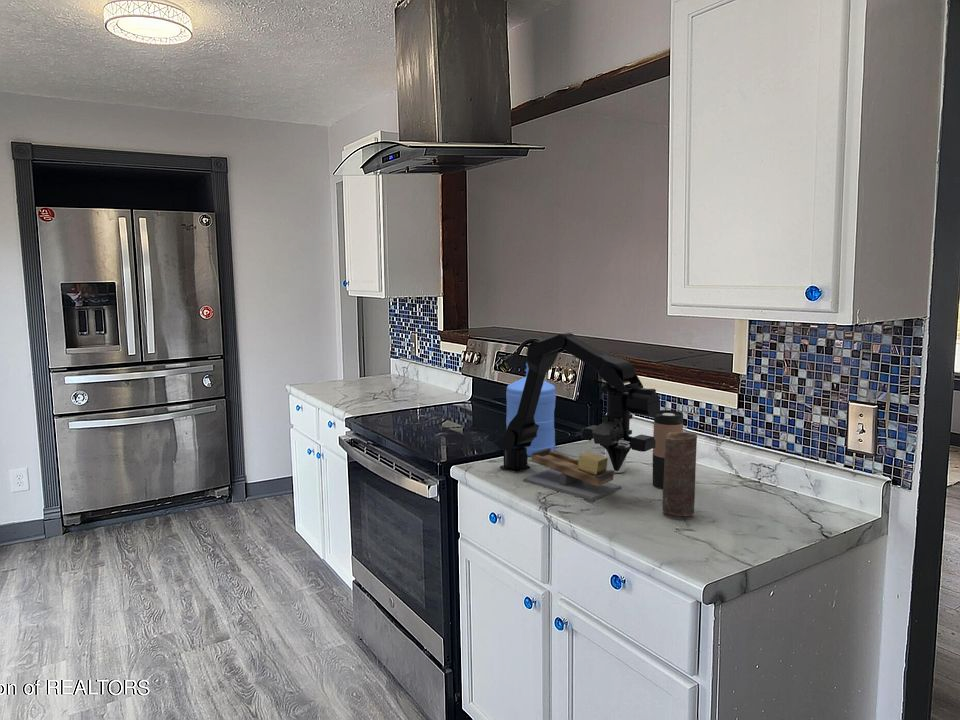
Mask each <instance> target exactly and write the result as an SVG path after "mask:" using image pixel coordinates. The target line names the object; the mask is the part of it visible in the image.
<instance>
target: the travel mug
mask: <svg viewBox="0 0 960 720" xmlns="http://www.w3.org/2000/svg"><path fill="white" fill-rule="evenodd" d="M683 431H684V412H681V411H679V410H671V409H659V412H658V414H657V415H656V416H655V417H653V435H652V437H654V439H655V441H656V445H655V448H653V449H652V485H653V487H654V488H657V489H661V490H663V482H664V461H665V437H666V435H667V434H668V433H670V432H679V433H681V432H683Z"/></svg>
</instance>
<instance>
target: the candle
mask: <svg viewBox="0 0 960 720" xmlns="http://www.w3.org/2000/svg"><path fill="white" fill-rule="evenodd" d="M697 441H698V436H697V434H696V433H695V432H688V431H687V432H685V431H684V432H681V433H679V432H670V433H668V434H667V435H666V437H665V461H664V482H663V489H662V503H661V504H662V505H661V507H662V512H663V513H664V514H666V515H670V516H675V517H693V516H694V514H695V501H696V500H695V499H696V498H695V497H696V472H697V471H696V468H697Z"/></svg>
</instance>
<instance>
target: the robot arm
mask: <svg viewBox="0 0 960 720" xmlns="http://www.w3.org/2000/svg"><path fill="white" fill-rule="evenodd" d="M563 352H567V353H568V354H570V355H572V356H573V357H574V358H577V360H579V361H581V362H583V363H585V364H587V365H588V366H589V367H591V368H592V369H594V371H596V372H597V374H598V377H599V378H600V379H602V380H603V381H604V382H605V384H604V385H603V386H602V387H600V389H599V391H600V392H602V393H606V395H607V396H606V414H604V415H603V417H602V423H600V424H598V425H596V424H595V425H594V424H593V425H589V426H585V427H584V428H583V429H582V430H581V439H582V440H586V441H592V440H593V442H594V444H595V445H598V444H599V446H601V447H603V448H604V449H605V451H606V450H607V452H608V454H609V456H610V459H611V462H612V465H613V468H614V471H619V469H620V467H621V465H622V463H623V461H624V459H625V457H626V455H627V456H628V453H629V452H630V450H631V449H632V451H637V452H647V451H650V450H653V448H655V445H656V441H655V439H654V437H653V435H647V434H638V435H635V436H631V435H632V434H633V430H632V429H630V424H631V423H630V420H631V419H633V416H634V415H638V416H642V417H643V416H644V417H649V418H654V417H655V416H656V415H657V414H658V412H659V410H661V401H660V397H659V395H658V394H657V390H656V389H655V388H644V385H643V384H642V382H641V380H640V378H639V376H638V374H637V373H636V371H635V366H634V365H633V363H632V362H630V361H629V360H626V359H623V358H620V357H616V356H611V355H608V354H606V353H604V352H602V351H601V350H599V349H597V348H596V347H594V346H592V345H591V344H589V343H587V342H585V341H584V340H582V339H580V338H578V337H577V336H576V335H574V333H571V332H565V333H559V334H557V335H555V336H553V337H550V338H547V339H544V340H534V341H532V342H530V343H529V344H528V346H527V350H526V359H525V360H526V364H528V367H529V370H528V374H527V378H526V382H525V385H524V389H523V393H522V397H521V400H520V404H519V408H518V412H517V414H516V416H515V417H514V418H513V419H512V420H511V422H510V423H509V425H508V427H507V426H506V430H505V434H504V435H503V436H501V438H500V439H499V440H498V442H497V444H498V447H499V450H503V465H500V466H499V468H500V469H502V470H506V471H508V472H509V471H510V472H513V473H518V472H521V471H524V470H527V469H530V468H531V465H528V461H529V460H528V457H529V456H528V455H527V448H525V447H529V446H531V443H532V441H533V440H534V438H535V437H537V430H538V428H539V425H537V424H535V420H534V415H535V411H536V407H537V404H538V400H539V397H540V393H541V389H542V386H543V382H544V381H545V377H546V375H547V372H548V371H549V370H550V368H552V366H553V365H554V364H555V362H556V359H557V357H558V354H560V353H563ZM621 438H624V439H621Z"/></svg>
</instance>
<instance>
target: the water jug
mask: <svg viewBox="0 0 960 720" xmlns="http://www.w3.org/2000/svg"><path fill="white" fill-rule="evenodd" d="M525 366H526V368H525V372H526V373H525V377H524V376H523V377H522V378H520V379H518V380H516V381H514V382H512V383H509V384H508V385H507V387H506V393H505V394H506V397H505V398H506V416H505V417H506V418H505V420H506V421H505V424H506V428H507V427H508V425H509V423H510V422H511V420H512V419H513V418H514V417H515V416H516V414H517V412H518V408H519V404H520V400H521V397H522V393H523V389H524V385H525V382H526V378H527V374H528V370H529V367H528V364H527V363H525ZM556 394H557V393H556V386H555V385H554V384H552V383H550V382H548V381H545V380H544V382H543V386H542V389H541V393H540V397H539V400H538V404H537V407H536V411H535V415H534V420H535V424H537V425H539V428H538V430H537V437H535V438H534V440H533V441H532V443H531V446H529V447H525V448H527V455H528V457H532V453H534V452H537V451H540V450H543V449H546V448H550V449H551V451H554V452H555V451H556V430H555V408H556V400H557V396H556Z"/></svg>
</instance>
